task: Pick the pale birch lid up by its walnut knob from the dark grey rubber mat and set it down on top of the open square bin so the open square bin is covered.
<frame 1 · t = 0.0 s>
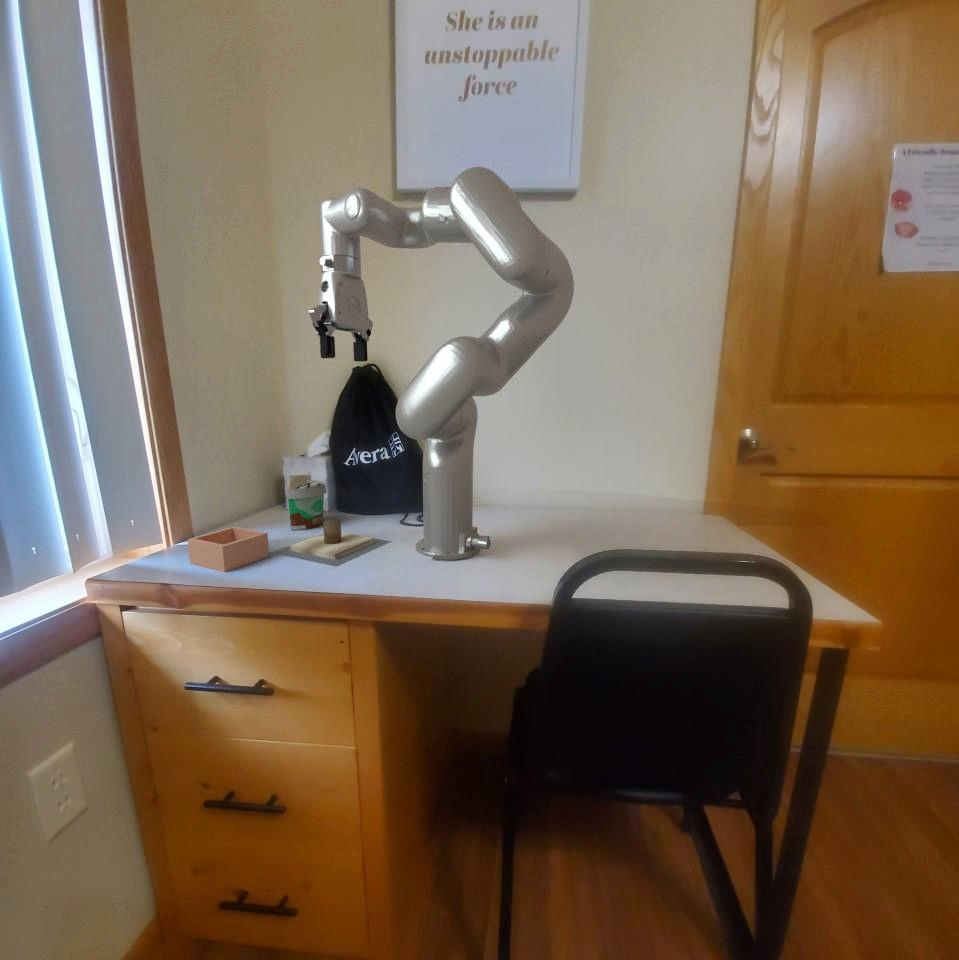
hand: (345, 359, 98), 37 cm above the table, tool pointing down, fingers open, 9 cm apart
open square bin: (230, 562, 86), on the table
mat: (333, 549, 94), on the table
lid: (333, 546, 94), point 1 cm above the table, touching mat
food container: (313, 528, 109), on the table
box: (300, 518, 117), on the table
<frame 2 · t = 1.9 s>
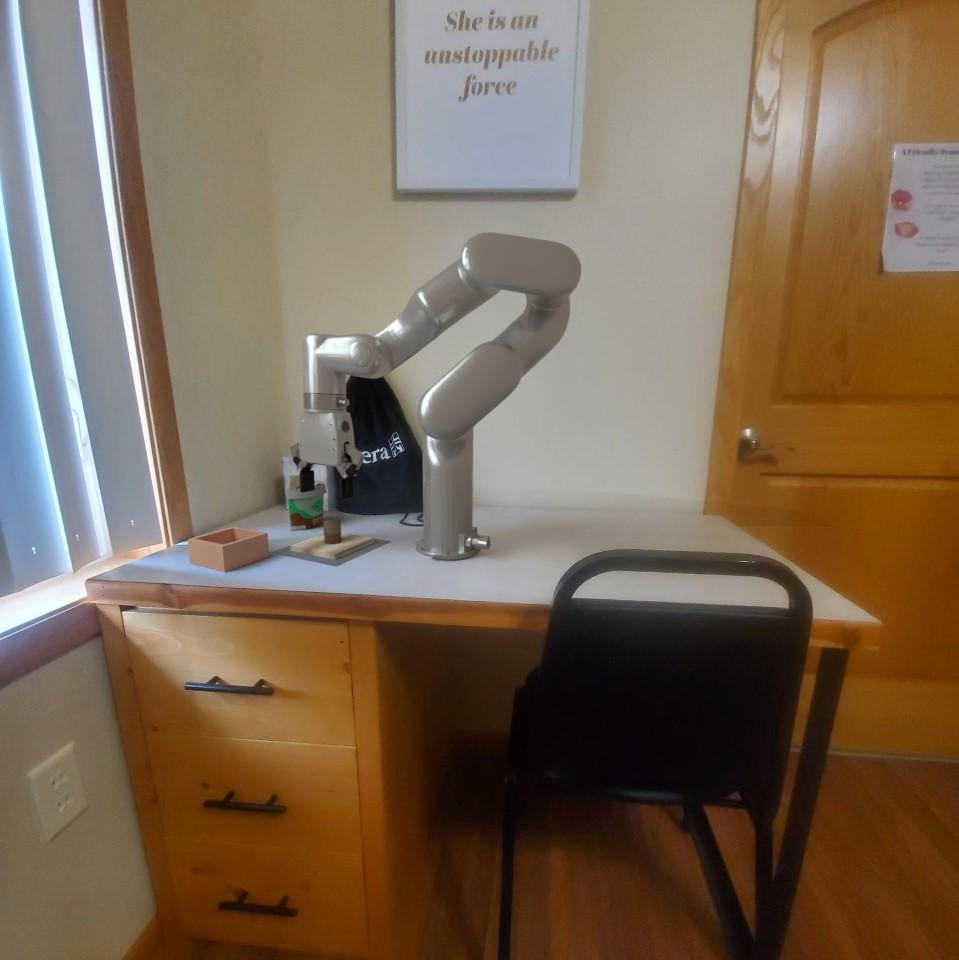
hand: (326, 494, 92), 11 cm above the table, tool pointing down, fingers open, 9 cm apart
nothing on the table moved.
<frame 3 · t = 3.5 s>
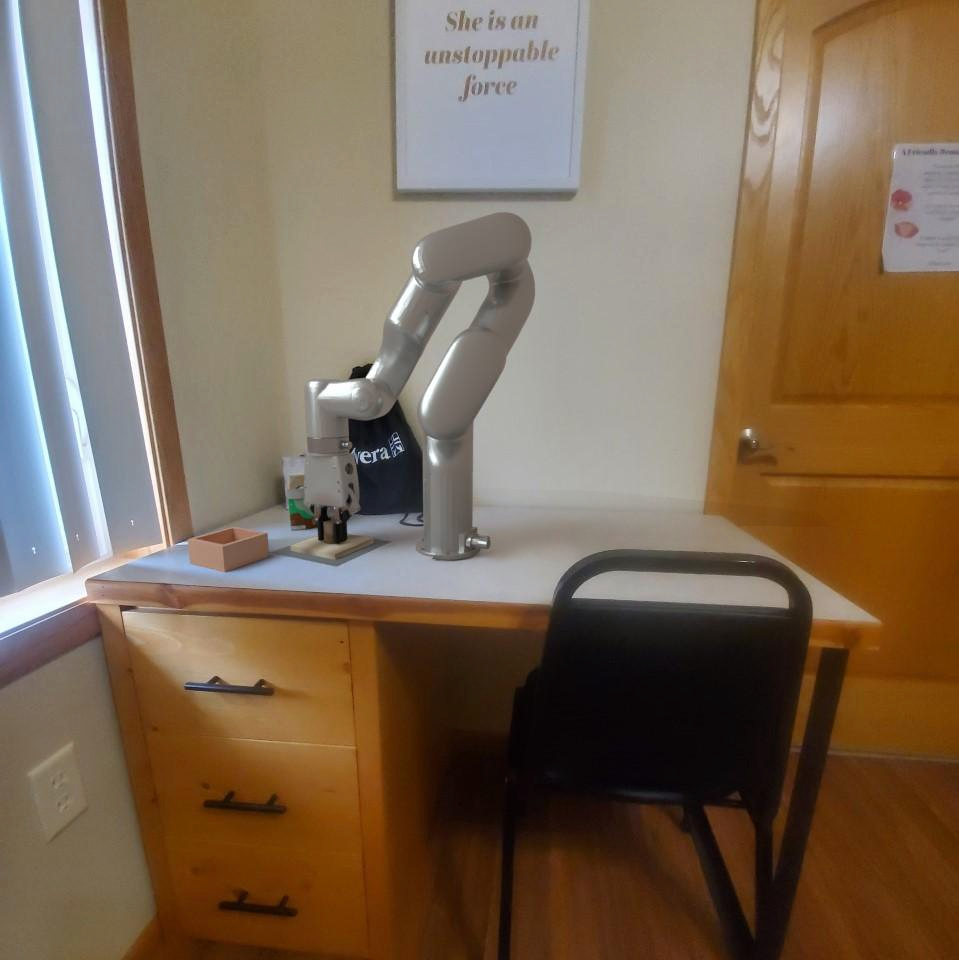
hand: (332, 539, 93), 2 cm above the table, tool pointing down, fingers closed on lid, 3 cm apart
lid: (333, 546, 94), point 1 cm above the table, touching gripper, mat
everything else where it was.
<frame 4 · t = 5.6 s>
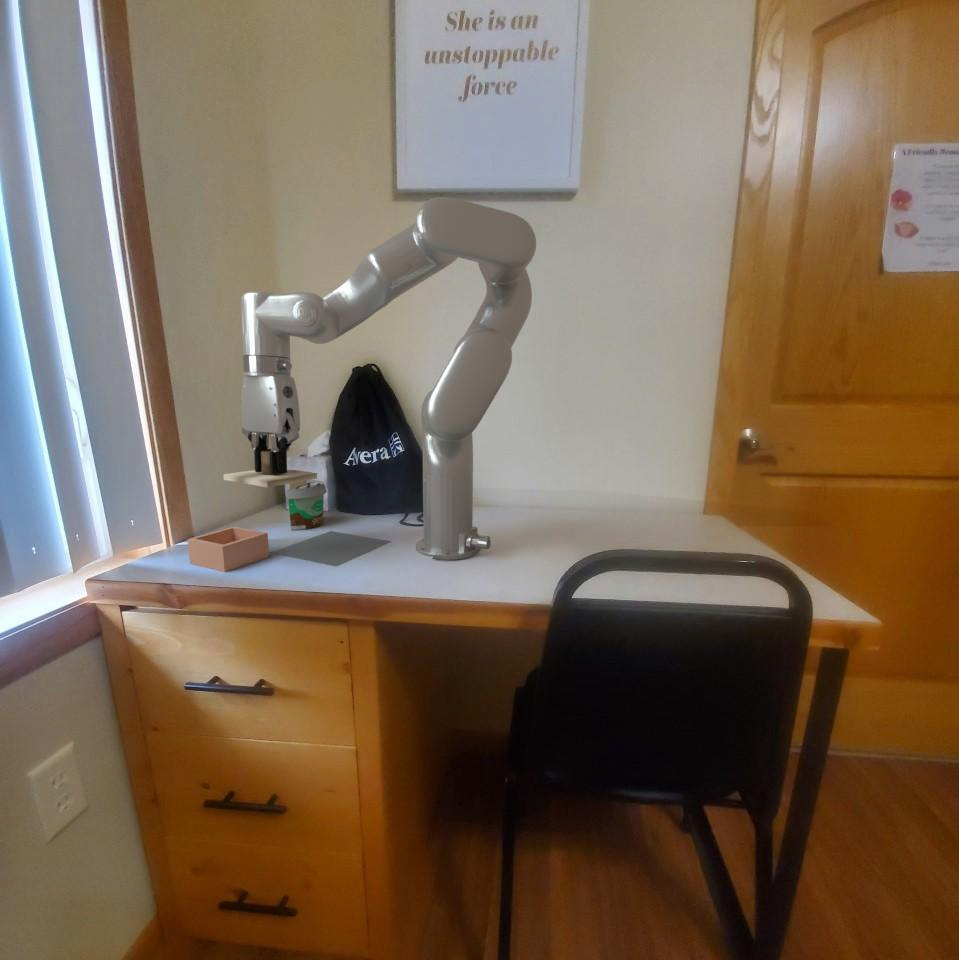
hand: (271, 471, 87), 16 cm above the table, tool pointing down, fingers closed on lid, 3 cm apart
lid: (271, 479, 87), point 15 cm above the table, touching gripper
everything else where it was.
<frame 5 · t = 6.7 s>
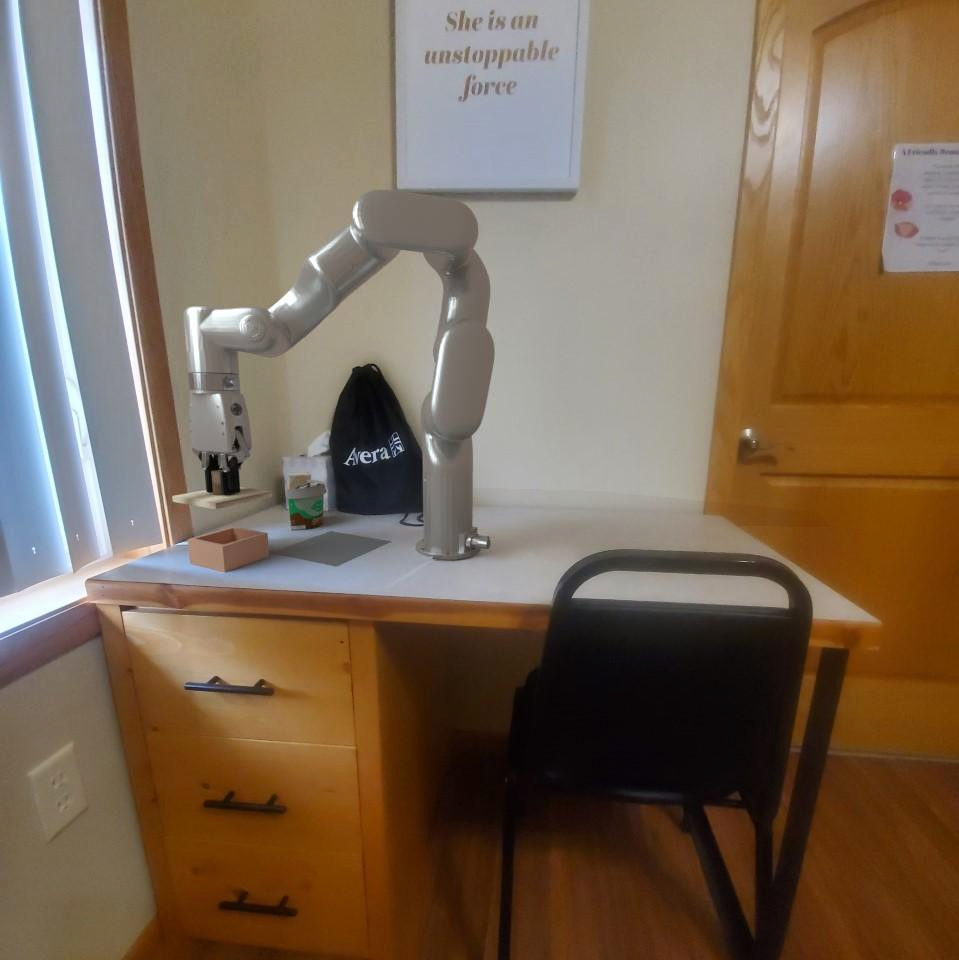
hand: (223, 491, 84), 13 cm above the table, tool pointing down, fingers closed on lid, 3 cm apart
lid: (224, 499, 84), point 12 cm above the table, touching gripper
everything else where it was.
when the fingers open (8 cm above the table, at t = 7.8 s): lid drops 1 cm, resting on open square bin.
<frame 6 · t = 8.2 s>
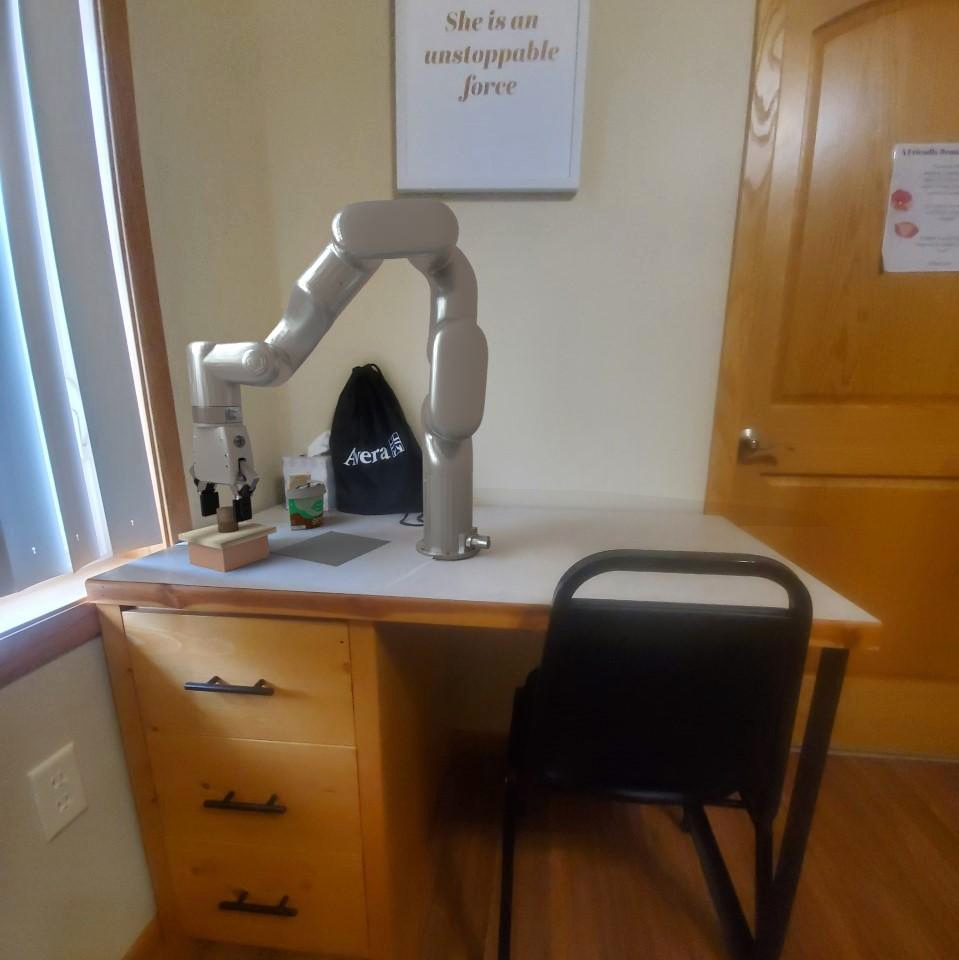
hand: (226, 517, 85), 8 cm above the table, tool pointing down, fingers open, 7 cm apart
lid: (229, 535, 85), point 5 cm above the table, touching open square bin
everything else where it was.
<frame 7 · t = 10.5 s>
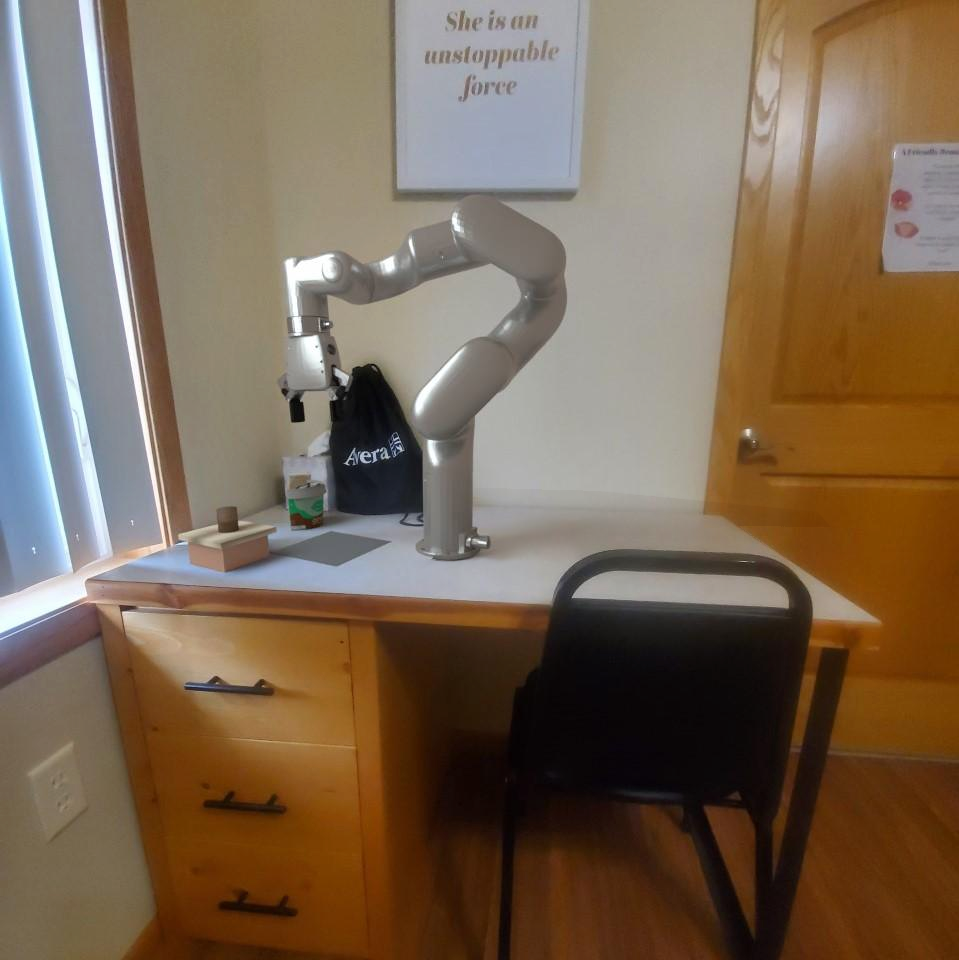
hand: (317, 422, 93), 25 cm above the table, tool pointing down, fingers open, 9 cm apart
nothing on the table moved.
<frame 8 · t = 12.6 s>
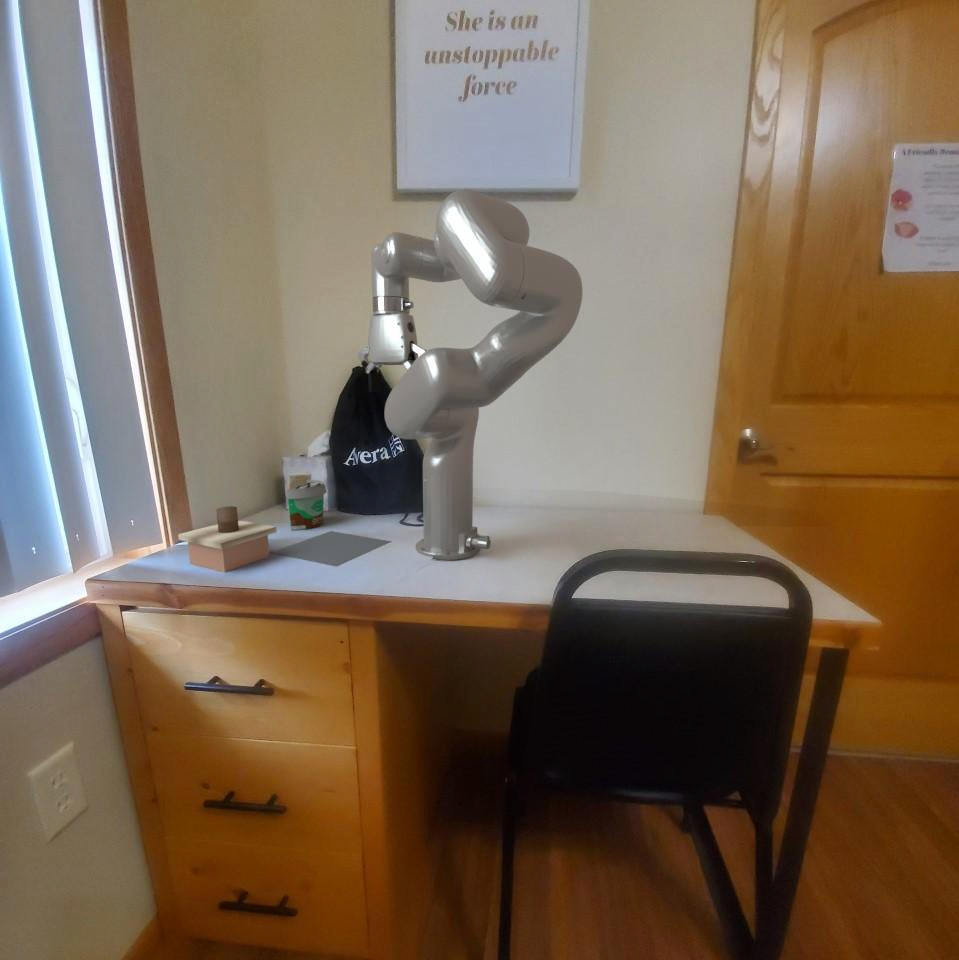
hand: (393, 392, 103), 30 cm above the table, tool pointing down, fingers open, 9 cm apart
nothing on the table moved.
at the end: lid 0.1 cm off-centre on the open square bin, point 5.0 cm above the open square bin's base; lid tilted 0°; the gripper is holding nothing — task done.
